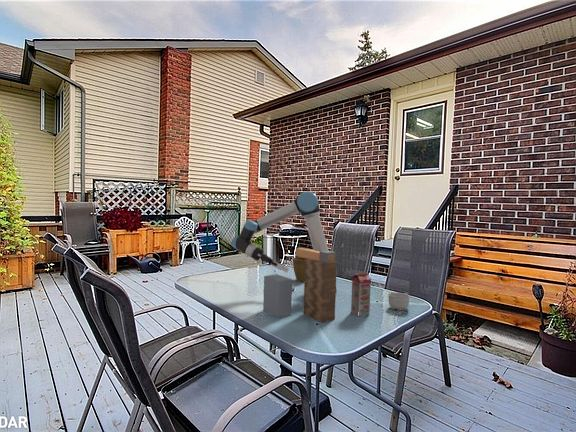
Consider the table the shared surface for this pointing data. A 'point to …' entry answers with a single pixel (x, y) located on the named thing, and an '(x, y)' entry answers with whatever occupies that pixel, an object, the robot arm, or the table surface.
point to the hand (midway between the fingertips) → (284, 269)
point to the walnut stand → (320, 290)
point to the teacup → (399, 300)
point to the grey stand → (277, 295)
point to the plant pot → (299, 268)
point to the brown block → (317, 255)
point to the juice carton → (361, 294)
